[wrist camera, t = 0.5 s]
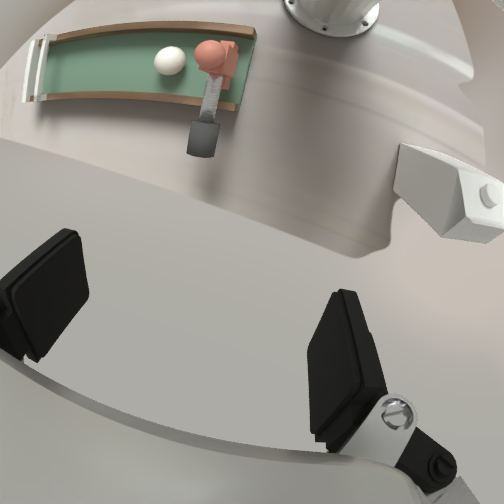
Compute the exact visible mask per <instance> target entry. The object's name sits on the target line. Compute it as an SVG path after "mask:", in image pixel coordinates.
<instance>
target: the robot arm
mask: <svg viewBox="0 0 504 504" xmlns="http://www.w3.org/2000/svg"><path fill="white" fill-rule="evenodd" d="M380 1H381V0H284V2H285V5H286V7H287V9H288V11H289V12H290V13H291V15H292V16H293V17H294V18H295V19H296V20H297V21H298V22H299V23H300V24H302V25H303V26H305V27H306V28H308V29H310V30H312V31H314V32H316V33H320V34H323V35H326V36H331V37H351V36H355V35H358V34H361V33H363V32H365V31H366V30H368V29H369V28H370V27H371V26H372V25H373V24H374V23H375V22H376V20H377V18H378V15H379V10H380V7H379V2H380ZM491 1H493V2H494V3H495V4H496V5H497V6H498V7H499V8H500V9H501V10H502V11H504V0H491ZM290 3H293V5H291V4H290ZM362 24H364V25H365V26H363V25H362ZM323 28H325V29H326V31H324V30H322V29H323ZM88 298H89V288H88V282H87V277H86V271H85V264H84V258H83V250H82V242H81V238H80V236H79V235H78V232H76V231H74V230H70V229H66V228H64V229H62V230H60V231H59V232H58V233H56V234H55V235H54V236H52V237H51V238H50V239H48V240H47V241H46V242H45V243H43V244H42V245H41V246H39V247H38V248H37V249H36V250H34V251H33V252H32V253H31V254H30V255H28V256H27V257H26V258H25V259H24V260H22V261H21V262H20V263H19V264H18V265H16V266H15V267H14V268H13V269H12V270H11V271H10V272H9V273H7V274H6V275H5V276H4V277H3V278H2V279H1V280H0V504H480V503H479V502H478V500H477V499H476V498H475V496H474V495H473V493H472V492H471V490H470V489H469V488H468V486H467V485H466V483H465V482H464V481H463V479H462V478H461V476H459V477H458V478H456V473H457V465H456V460H455V459H454V457H453V455H452V454H451V453H450V452H449V451H447V450H446V449H445V448H443V447H442V446H441V445H440V444H438V443H437V442H435V441H434V440H433V439H432V438H430V437H429V436H428V435H426V434H425V433H424V432H422V431H421V430H420V429H419V428H417V427H416V425H417V421H418V417H417V412H416V409H415V407H414V406H413V404H412V403H411V402H410V401H409V400H408V399H407V398H405V397H403V396H401V395H398V394H388V391H387V387H386V383H385V379H384V375H383V372H382V368H381V364H380V361H379V357H378V354H377V350H376V347H375V343H374V340H373V337H372V335H371V333H370V332H369V330H368V327H367V324H366V320H365V317H364V314H363V311H362V308H361V305H360V302H359V299H358V296H357V293H356V292H355V291H350V290H345V289H339V290H338V292H333V293H332V295H331V297H330V299H329V302H328V304H327V306H326V309H325V311H324V313H323V316H322V317H321V320H320V322H319V324H318V326H317V329H316V331H315V333H314V335H313V337H312V339H311V341H310V343H309V346H308V350H307V361H308V381H309V403H310V404H309V406H310V432H311V433H312V434H315V442H326V449H327V450H328V451H327V452H326V453H321V452H310V451H298V450H286V449H277V448H269V447H261V446H255V445H248V444H242V443H235V442H230V441H225V440H219V439H214V438H210V437H205V436H201V435H197V434H192V433H189V432H184V431H181V430H177V429H174V428H170V427H166V426H163V425H160V424H157V423H154V422H151V421H147V420H144V419H141V418H138V417H135V416H133V415H130V414H127V413H124V412H122V411H119V410H117V409H114V408H112V407H109V406H107V405H104V404H102V403H99V402H97V401H95V400H93V399H90V398H88V397H86V396H84V395H82V394H79V393H77V392H75V391H73V390H71V389H69V388H67V387H65V386H63V385H61V384H59V383H57V382H55V381H54V380H52V379H50V378H48V377H46V376H44V375H42V374H41V373H39V372H37V371H36V370H34V369H32V368H30V367H29V366H27V365H26V364H24V358H23V357H24V355H25V354H26V355H27V357H28V358H29V359H31V360H33V361H34V362H36V363H38V362H39V360H40V359H41V357H44V356H45V355H46V354H47V353H48V351H49V350H50V348H51V347H52V346H53V344H54V343H55V342H56V340H57V339H58V338H59V336H60V335H61V333H62V332H63V331H64V329H65V328H66V327H67V325H68V324H69V323H70V322H71V320H72V319H73V318H74V316H75V315H76V314H77V313H78V311H79V310H80V309H81V307H82V306H83V305H84V304H85V302H86V301H87V300H88Z"/></svg>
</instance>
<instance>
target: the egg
mask: <svg viewBox="0 0 504 504" xmlns="http://www.w3.org/2000/svg"><path fill="white" fill-rule="evenodd" d="M185 63H186V56H185V53H184V52H183V51H182V50H181V49H180V48H178V47H173V46H170V47H166V48H163V49H162V50H160V51H159V52H158V53H157V55H156V56H155V59H154V66H155V68H156V70H157V71H158V72H159V73H161V74H163V75H174V74H176V73H178V72H180V71H181V70H182V69H183V67H184V66H185Z"/></svg>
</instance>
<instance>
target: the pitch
mask: <svg viewBox="0 0 504 504" xmlns="http://www.w3.org/2000/svg"><path fill="white" fill-rule="evenodd" d="M256 37H257V34H256V31H255V28H254V27H249V26H242V25H234V24H224V23H213V22H197V21H150V22H134V23H123V24H114V25H106V26H99V27H93V28H87V29H82V30H77V31H72V32H68V33H63V34H59V35H57V40H56V41H49V45H48V46H50V47H49V52H48V57H47V63H46V69H45V75H44V82H43V90H42V94H41V95H43V94H47V100H55V99H78V98H112V99H136V100H151V101H162V102H172V103H181V104H189V105H197V106H201V105H202V100H203V95H204V91H205V86H206V81H207V77H208V73H206V72H204V71H201V70H198V68H199V64H197V62H196V61H195V58H194V52H195V49H196V47H197V46H198V45H199V44H200V43H202V42H204V41H208V40H214V41H217V42H219V43H220V42H221V40H222V41H231V42H235V43H236V44H237V46H238V47H239V49H238V54H239V57H238V61H237V65H236V69H235V73H234V78H231V82H230V86H229V90H223V89H221V90H220V95H219V99H218V104H217V109H222V110H228V111H239V108H240V103H241V99H242V95H243V90H244V86H245V82H246V78H247V73H248V69H249V65H250V61H251V57H252V53H253V49H254V45H255V41H256ZM42 42H43V39H41V40H39V44H38V45H42ZM170 46H173V47H178V48H180V49H181V50H182V51H183V52H184V53H185V56H186V63H185V66H184V67H183V69H182V70H181V71H180V72H178V73H176V74H174V75H163V74H161V73H159V72H158V71H157V70H156V68H155V66H154V59H155V56H156V55H157V53H158V52H159V51H160V50H162V49H163V48H166V47H170ZM33 100H34V95H33V96H30V102H31V101H33Z"/></svg>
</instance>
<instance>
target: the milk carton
mask: <svg viewBox="0 0 504 504" xmlns="http://www.w3.org/2000/svg"><path fill="white" fill-rule="evenodd" d="M393 191H394V192H395V193H396V194H398V195H399V196H400V197H401V198H402V199H403V200H404V201H405V202H406V203H407V204H408V205H409V206H411V208H413V209H414V210H415V211H416V212H417V213H418V214H419V215H420V216H421V217H422V218H423V219H424V220H425V221H426V222H427V223H428V224H429V225H430V226H431V227H432V228H433V229H434V230H435V231H436V232H437V233H438V235H439V236H440V237H443V238H450V239H457V240H464V241H471V242H478V243H485V244H486V243H488V242H490V241H491V240H493V239H494V238H496V237H497V236H499V235H500V234H502V233H503V232H504V184H503V183H502V182H500V181H499V180H497V179H495V178H493V177H492V176H490V175H488V174H486V173H484V172H482V171H480V170H478V169H476V168H474V167H472V166H470V165H468V164H466V163H464V162H461V161H459V160H457V159H455V158H453V157H450V156H448V155H446V154H443V153H441V152H438V151H434V150H431V149H427V148H423V147H419V146H414V145H410V144H406V143H400V149H399V156H398V163H397V169H396V175H395V181H394V186H393Z"/></svg>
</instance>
